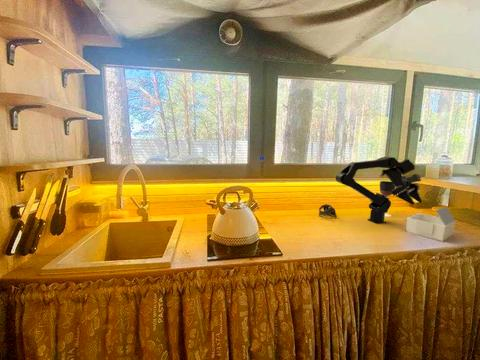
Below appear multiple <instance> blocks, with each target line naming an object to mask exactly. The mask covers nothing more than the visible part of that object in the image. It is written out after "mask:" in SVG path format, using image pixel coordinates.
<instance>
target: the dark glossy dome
mask: <svg viewBox="0 0 480 360" xmlns="http://www.w3.org/2000/svg"><path fill="white" fill-rule="evenodd" d="M322 209H323V210H322ZM327 215H329V216H335V217H337V212H336V209H335V207H333V206H332V205H331V204H329V203H326V204H322V205H320V207H318V217H321V216H323V217H324V216H327Z"/></svg>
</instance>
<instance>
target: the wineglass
mask: <svg viewBox="0 0 480 360" xmlns="http://www.w3.org/2000/svg"><path fill="white" fill-rule="evenodd" d="M391 183H392V182H391V180H389V181H387V180H381V181H379V192H380V194H382V195H384V196H385V197H386V198H388V197H389V196H392V195H393V194H392V193H391V192H392V190H393V189H395V188H396V187H395V185H394V184H393V185H392V184H391ZM385 217H392V215H391V214H390V213H388V212H387V213H385Z"/></svg>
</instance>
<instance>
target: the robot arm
mask: <svg viewBox="0 0 480 360" xmlns="http://www.w3.org/2000/svg"><path fill="white" fill-rule="evenodd" d="M374 168H382V170H381V175H380V176H381V177H382V176H386V177H387V178H388V179H389V181H390V182H392V183H391V184H392V185H393V184H394V185H395V189H393V190H392V192H391V193H392V195H393V197H394V196H395V197H396V198H398V199H401V200H403V201H405V202H407V203H408V204H410V205H412V206H413V205H415V201H416V202H418V203H423V200H422V198H421V196H420V194H419V189H420V187H421V186H420V185H419V184H418V183H417V182H421V181H422V179H421V178H422V176H420V174H417V173H414V174H411V176H408V177H407V176H405V175H406V174H409V173H411V172H413V171H414V170H415V169H416V166H415V165H414V163H412V161H410V159H408V158H407V159H406V158H405V159H404V160H403V161H398V160H397V158H396V157H393V156H382V157H379V158H376V159H372V160H364V161H351V162H349V163H348V165H347V166H344V168H343V169H342V170H340V172H338V173H337V174H336V175H335V181H336V182H337V183H339V184H342V185H345V186H347V187H349V188H351V189H352V190H353V191H356V192H357V193H359V194H360V195H362V196H364V197H365V198H367V199H369V201H370V202H369V204H368V209H370V216H369V218H367V221H369V222H372V223H375V224H386V223H387V222H386V221H385V217H386V216H385V213H387V214H388V211H389V209H390V208H391V206H392V202H391V200H390V198H389V197H387V198H386V197H385V196H384V195H383V194H381V193H379V192H376V193H374V192H373V191H370V190H369V189H368V188H366V187H364V186H363V185H362V184H360V183H358V182H356V180H355V179H354V177H355V176H356V173H357V171H359V170H365V169H366V170H367V169H374Z"/></svg>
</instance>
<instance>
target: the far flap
mask: <svg viewBox="0 0 480 360" xmlns="http://www.w3.org/2000/svg"><path fill="white" fill-rule="evenodd" d="M435 213H436V214H437V217H440V219H441V220H442V222H443V223H444V225H448V224H450V223H452V222H454V221H455V222H456V218H455V217H454V215H452V213H451V211H450V210H449V208H448V207H447V206H444V207H442V208H439V209H436V210H435Z"/></svg>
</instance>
